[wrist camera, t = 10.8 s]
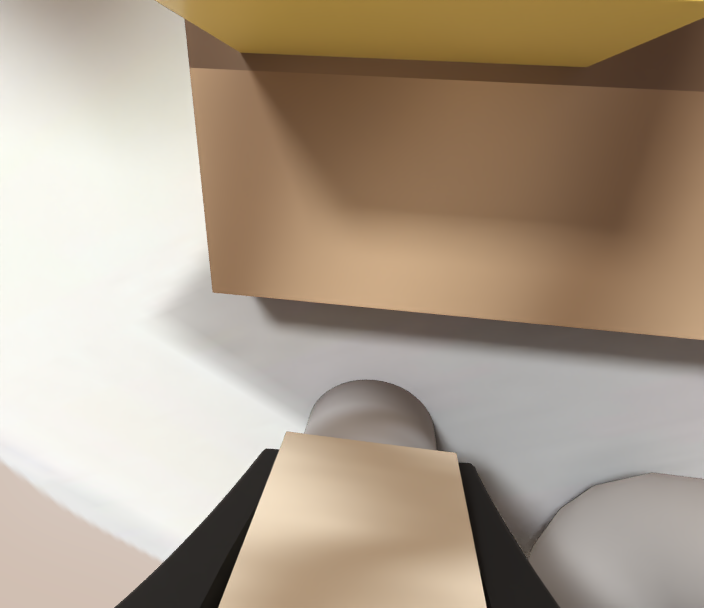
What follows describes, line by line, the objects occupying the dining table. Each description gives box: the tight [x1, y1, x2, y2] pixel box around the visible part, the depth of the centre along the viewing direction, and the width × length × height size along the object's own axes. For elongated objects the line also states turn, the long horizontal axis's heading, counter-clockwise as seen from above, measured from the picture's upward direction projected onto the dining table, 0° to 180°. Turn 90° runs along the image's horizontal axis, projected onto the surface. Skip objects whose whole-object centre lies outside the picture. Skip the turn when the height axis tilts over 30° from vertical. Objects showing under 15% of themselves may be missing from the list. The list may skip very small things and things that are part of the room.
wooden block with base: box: [218, 380, 487, 608], centre depth 8 cm, size 4×4×7 cm
